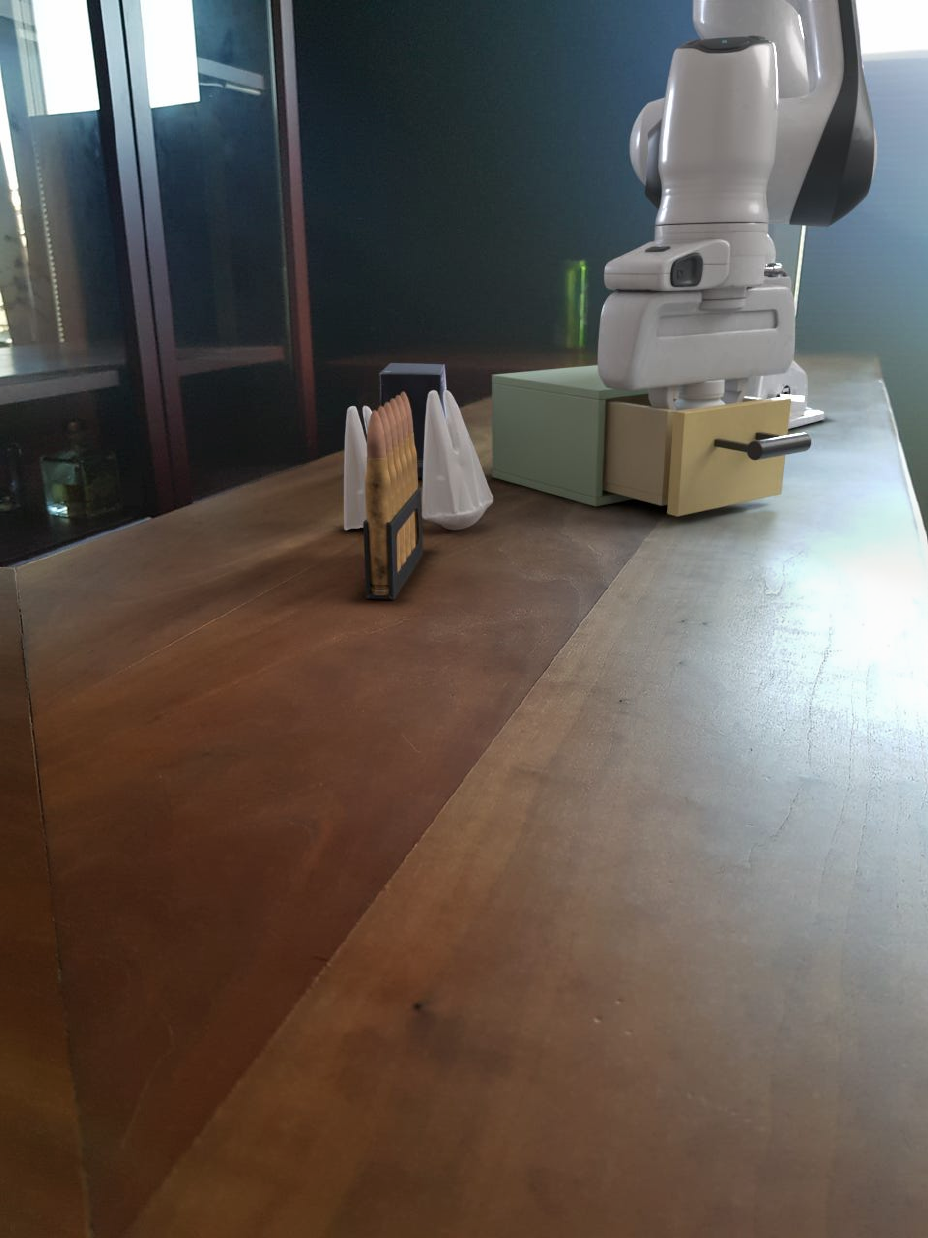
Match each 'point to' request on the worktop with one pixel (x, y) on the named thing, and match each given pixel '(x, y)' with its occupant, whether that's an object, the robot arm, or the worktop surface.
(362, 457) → the shaker set
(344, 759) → the worktop surface
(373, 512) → the ammunition clip
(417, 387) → the small box
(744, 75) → the robot arm
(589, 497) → the cabinet
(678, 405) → the pill bottle
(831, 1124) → the worktop surface
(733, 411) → the drawer
